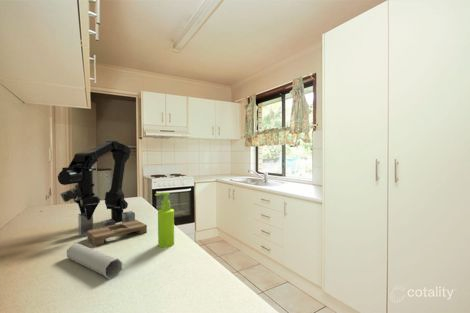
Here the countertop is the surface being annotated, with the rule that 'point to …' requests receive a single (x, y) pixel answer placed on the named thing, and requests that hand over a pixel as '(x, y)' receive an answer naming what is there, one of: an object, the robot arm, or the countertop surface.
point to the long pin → (84, 224)
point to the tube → (95, 260)
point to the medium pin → (128, 216)
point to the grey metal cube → (108, 223)
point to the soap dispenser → (165, 222)
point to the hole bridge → (106, 232)
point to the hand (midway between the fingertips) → (85, 217)
